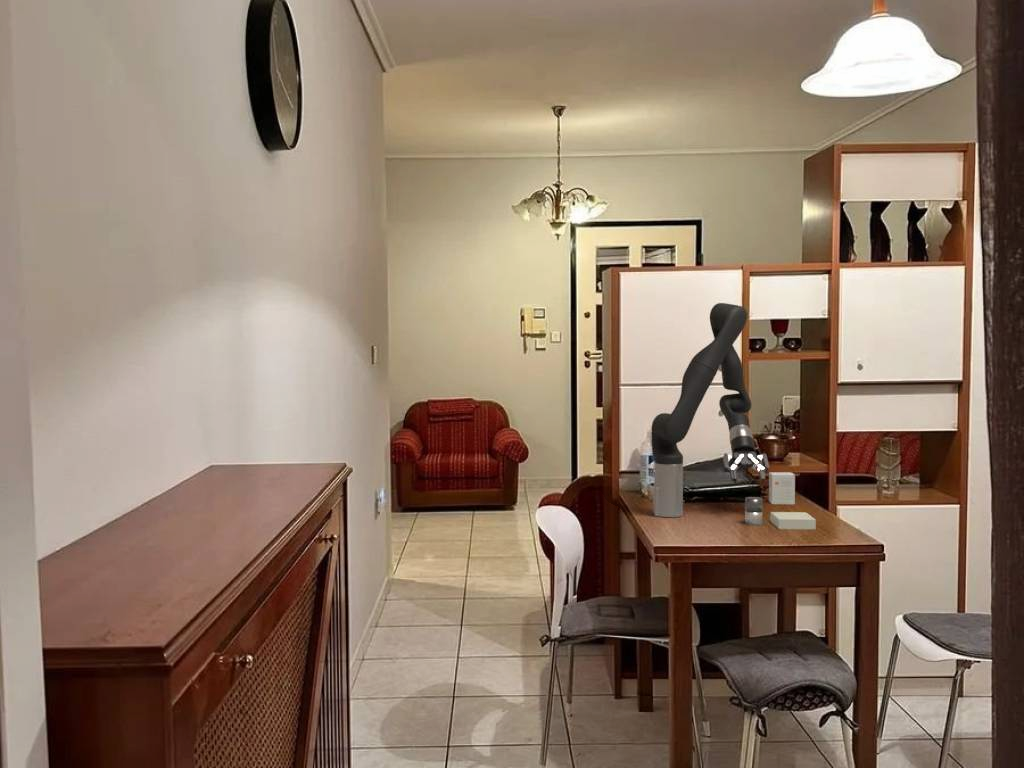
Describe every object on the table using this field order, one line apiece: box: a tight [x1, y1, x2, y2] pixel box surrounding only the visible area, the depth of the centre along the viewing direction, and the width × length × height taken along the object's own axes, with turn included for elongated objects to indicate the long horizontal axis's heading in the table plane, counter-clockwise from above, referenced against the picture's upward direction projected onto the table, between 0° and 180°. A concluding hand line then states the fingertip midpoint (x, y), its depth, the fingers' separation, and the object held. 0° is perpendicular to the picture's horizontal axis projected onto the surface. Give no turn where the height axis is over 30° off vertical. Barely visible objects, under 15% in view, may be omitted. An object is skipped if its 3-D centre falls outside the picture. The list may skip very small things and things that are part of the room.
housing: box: [744, 496, 764, 526], centre depth 283 cm, size 5×5×8 cm
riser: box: [769, 511, 817, 530], centre depth 281 cm, size 11×11×3 cm
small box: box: [768, 471, 796, 506], centre depth 317 cm, size 8×6×10 cm
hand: (748, 481), depth 291 cm, fingers open, 8 cm apart
